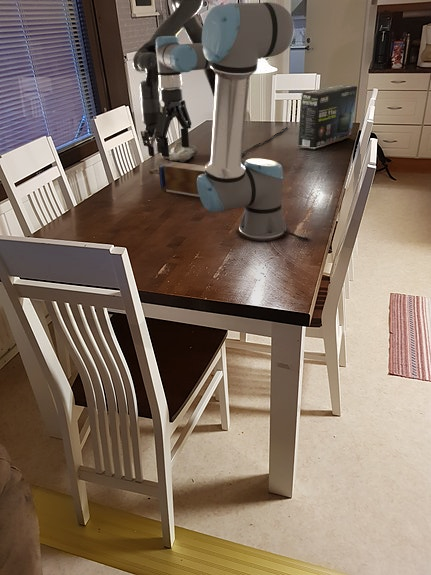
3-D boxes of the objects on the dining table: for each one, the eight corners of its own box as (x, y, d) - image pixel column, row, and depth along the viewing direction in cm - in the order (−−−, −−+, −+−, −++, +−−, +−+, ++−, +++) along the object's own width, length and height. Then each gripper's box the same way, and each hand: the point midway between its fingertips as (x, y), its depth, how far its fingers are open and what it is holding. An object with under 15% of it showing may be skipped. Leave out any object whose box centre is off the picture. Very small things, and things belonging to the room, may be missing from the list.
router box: (314, 151, 231) (318, 94, 217) (296, 148, 237) (299, 92, 224) (352, 138, 251) (358, 85, 238) (335, 135, 258) (340, 83, 245)
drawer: (149, 186, 191) (147, 165, 187) (156, 182, 195) (154, 162, 191) (201, 194, 180) (200, 172, 176) (208, 190, 184) (207, 168, 180)
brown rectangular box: (166, 191, 187) (163, 166, 182) (174, 186, 192) (172, 161, 187) (210, 198, 178) (208, 172, 173) (218, 193, 183) (217, 167, 178)
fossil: (184, 156, 217) (163, 136, 220) (174, 174, 223) (154, 154, 227) (205, 153, 231) (186, 134, 234) (195, 171, 237) (176, 152, 240)
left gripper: (154, 106, 183) (158, 149, 192) (132, 112, 173) (137, 157, 181) (170, 107, 180) (173, 150, 189) (148, 114, 169) (153, 159, 178)
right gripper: (180, 82, 166) (184, 142, 177) (140, 93, 147) (147, 159, 158) (198, 83, 163) (201, 144, 174) (159, 94, 144) (165, 161, 155)
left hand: (156, 154), depth 185 cm, fingers open, 5 cm apart
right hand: (175, 151), depth 166 cm, fingers open, 13 cm apart
